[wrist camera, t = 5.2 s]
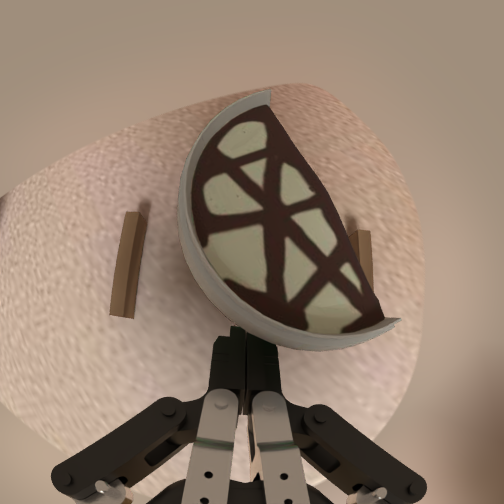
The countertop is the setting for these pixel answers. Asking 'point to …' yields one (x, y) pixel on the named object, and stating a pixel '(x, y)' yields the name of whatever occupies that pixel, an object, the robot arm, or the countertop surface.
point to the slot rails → (132, 252)
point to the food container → (271, 236)
